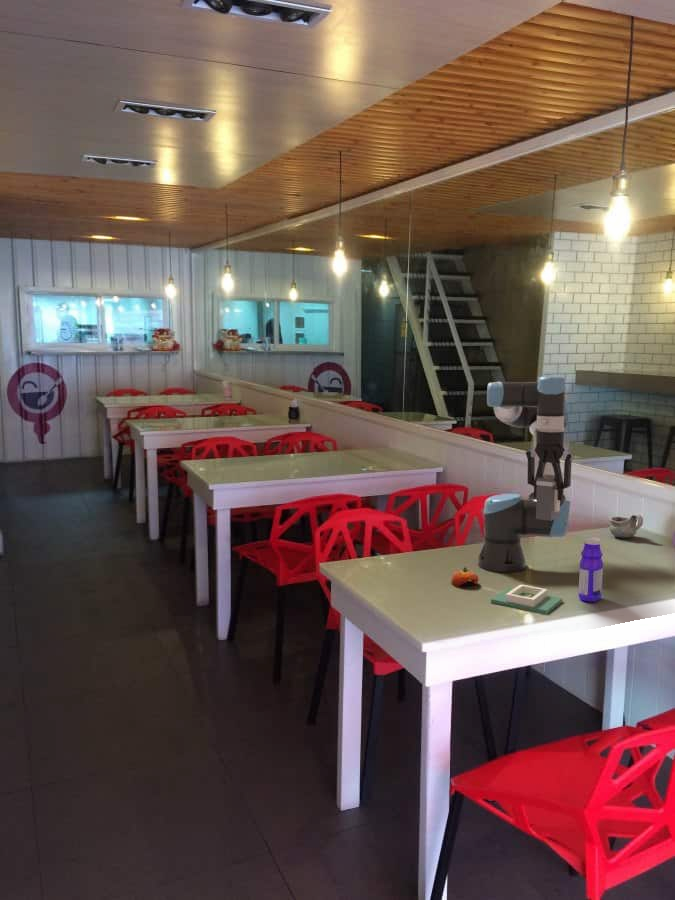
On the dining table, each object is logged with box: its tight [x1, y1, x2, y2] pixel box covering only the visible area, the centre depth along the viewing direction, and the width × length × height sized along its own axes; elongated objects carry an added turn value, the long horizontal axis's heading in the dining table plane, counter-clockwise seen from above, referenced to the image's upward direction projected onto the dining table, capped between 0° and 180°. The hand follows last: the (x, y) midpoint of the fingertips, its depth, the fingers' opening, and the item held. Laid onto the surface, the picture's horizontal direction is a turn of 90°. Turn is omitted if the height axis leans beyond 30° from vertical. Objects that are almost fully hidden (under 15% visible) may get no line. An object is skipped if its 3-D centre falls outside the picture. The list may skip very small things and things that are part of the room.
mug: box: [609, 513, 644, 539], centre depth 270 cm, size 10×12×10 cm
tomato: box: [450, 566, 480, 588], centre depth 218 cm, size 8×7×7 cm
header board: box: [490, 584, 563, 615], centre depth 202 cm, size 16×12×3 cm
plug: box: [536, 475, 560, 521], centre depth 211 cm, size 5×8×12 cm, turn 144°
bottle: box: [578, 536, 604, 603], centre depth 203 cm, size 7×6×17 cm
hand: (548, 509), depth 212 cm, fingers closed on plug, 4 cm apart
